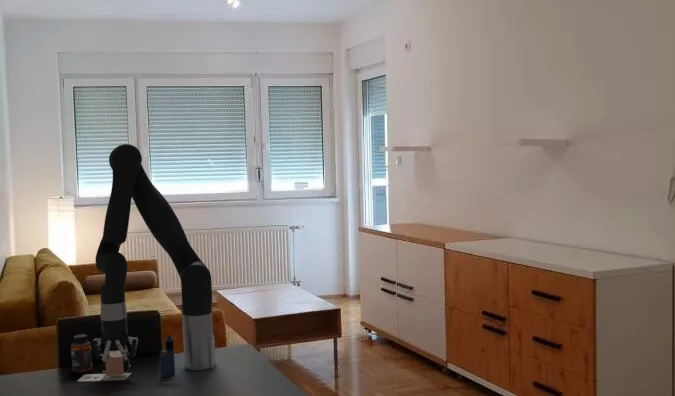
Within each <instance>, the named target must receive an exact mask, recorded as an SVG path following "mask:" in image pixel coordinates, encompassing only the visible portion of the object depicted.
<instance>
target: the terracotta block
mask: <svg viewBox="0 0 675 396" xmlns="http://www.w3.org/2000/svg"><path fill="white" fill-rule="evenodd" d="M105 361H106V372H105V374H106V375H105V376H107V375H123V374H124V373H126V372H124V359H123V356H122V354H110V355H109V356H108V357H107V358H106V359H105Z"/></svg>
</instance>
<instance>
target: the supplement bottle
mask: <svg viewBox="0 0 675 396" xmlns="http://www.w3.org/2000/svg"><path fill="white" fill-rule="evenodd" d="M70 351H71V352H70V353H71V354H70V355H71V366H72V372H73V373H86V372H89V371H92V369H93V357H92V343H91V342H90V341H88V335H87V334H84V333H82V334H77V335H74V336H73V342H72V343H71V345H70Z"/></svg>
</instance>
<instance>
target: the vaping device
mask: <svg viewBox="0 0 675 396" xmlns="http://www.w3.org/2000/svg"><path fill="white" fill-rule="evenodd" d="M164 341H165V349H164V350H163V349H162V350H161V351H160V356H159V364H160V365H159V366H160V368H159V369H160V377H161V378H169V377H171V376H173V375H175V374H176V367H175V366H176V365H175V363H176V362H175V351H174V339H173V338H172V335H168V336H167V338H165V340H164Z"/></svg>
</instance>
